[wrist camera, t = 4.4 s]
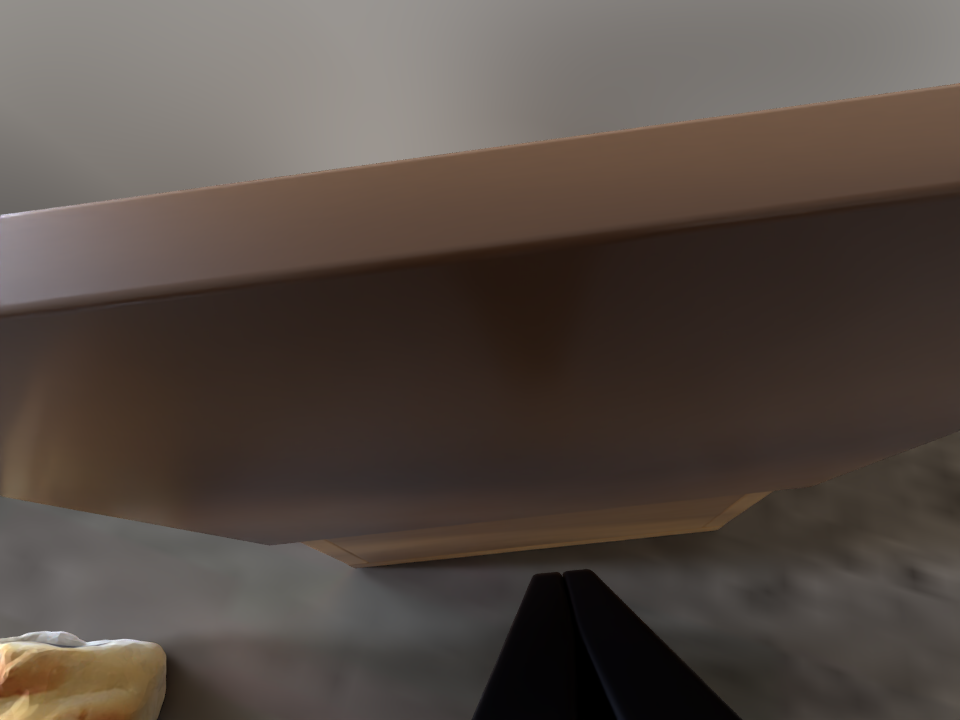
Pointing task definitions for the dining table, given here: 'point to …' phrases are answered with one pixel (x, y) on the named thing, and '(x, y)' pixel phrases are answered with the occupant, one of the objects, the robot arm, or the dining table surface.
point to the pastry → (80, 678)
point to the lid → (494, 327)
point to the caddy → (537, 532)
